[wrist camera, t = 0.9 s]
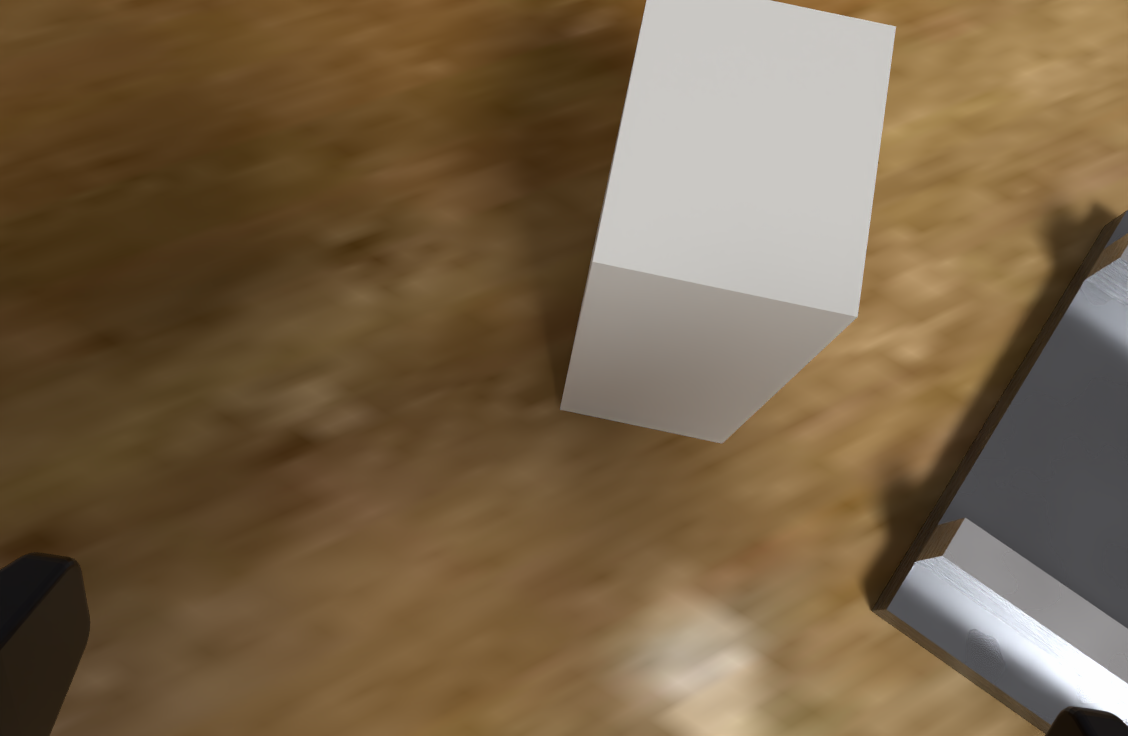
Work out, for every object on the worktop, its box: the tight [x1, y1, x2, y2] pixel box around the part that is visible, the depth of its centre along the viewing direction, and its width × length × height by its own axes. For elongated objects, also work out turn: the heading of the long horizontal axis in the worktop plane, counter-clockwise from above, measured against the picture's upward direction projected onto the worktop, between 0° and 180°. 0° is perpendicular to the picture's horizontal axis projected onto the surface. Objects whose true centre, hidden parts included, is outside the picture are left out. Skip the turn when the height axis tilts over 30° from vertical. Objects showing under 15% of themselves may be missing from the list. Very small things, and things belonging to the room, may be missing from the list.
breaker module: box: [560, 0, 896, 443], centre depth 21 cm, size 6×4×10 cm
